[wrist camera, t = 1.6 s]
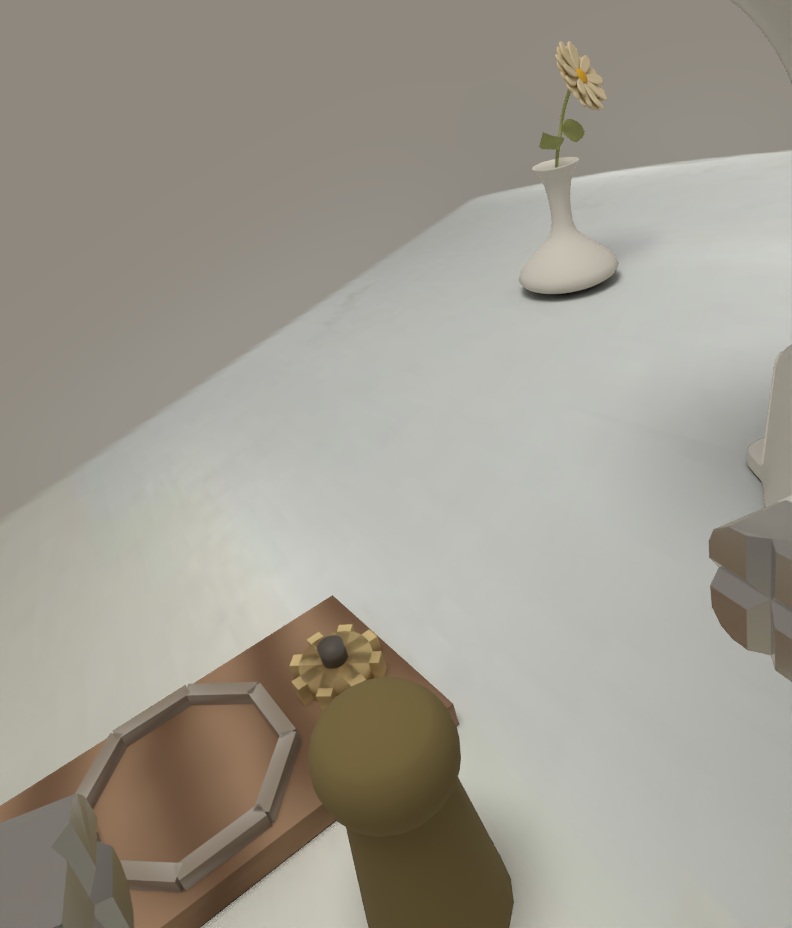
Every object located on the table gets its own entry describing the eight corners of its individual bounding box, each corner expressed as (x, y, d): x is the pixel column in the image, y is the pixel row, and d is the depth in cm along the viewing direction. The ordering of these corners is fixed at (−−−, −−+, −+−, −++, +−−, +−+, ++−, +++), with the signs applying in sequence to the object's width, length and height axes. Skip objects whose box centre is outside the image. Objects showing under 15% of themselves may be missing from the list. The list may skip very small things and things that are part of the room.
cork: (336, 911, 30) (248, 737, 25) (434, 802, 33) (375, 627, 28) (443, 1022, 26) (365, 842, 20) (544, 886, 29) (500, 698, 23)
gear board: (338, 613, 46) (322, 568, 44) (458, 724, 36) (444, 672, 35) (-62, 872, 36) (-104, 829, 34) (-37, 1112, 27) (-94, 1070, 25)
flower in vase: (573, 309, 79) (544, 52, 67) (501, 297, 88) (463, 67, 76) (649, 267, 85) (635, 23, 72) (574, 259, 94) (549, 40, 81)
